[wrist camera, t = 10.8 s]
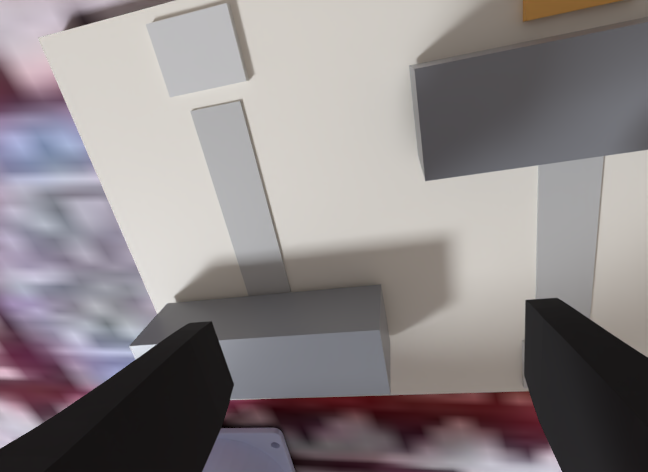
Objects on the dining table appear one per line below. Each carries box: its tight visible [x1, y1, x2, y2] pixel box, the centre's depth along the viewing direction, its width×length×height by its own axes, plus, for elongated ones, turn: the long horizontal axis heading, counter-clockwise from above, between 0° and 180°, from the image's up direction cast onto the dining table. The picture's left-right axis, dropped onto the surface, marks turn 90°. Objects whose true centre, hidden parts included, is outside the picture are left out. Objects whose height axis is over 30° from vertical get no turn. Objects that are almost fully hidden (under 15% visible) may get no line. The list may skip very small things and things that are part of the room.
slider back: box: [129, 284, 391, 399], centre depth 17 cm, size 3×10×3 cm, turn 101°
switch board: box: [38, 0, 648, 400], centre depth 16 cm, size 18×24×1 cm
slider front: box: [409, 17, 648, 181], centre depth 11 cm, size 3×10×3 cm, turn 101°
